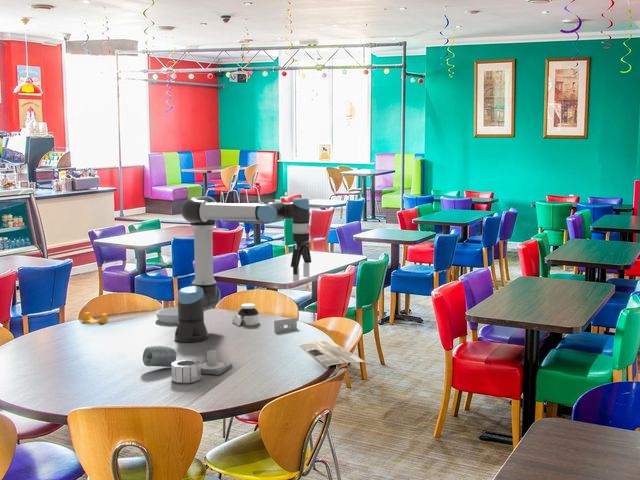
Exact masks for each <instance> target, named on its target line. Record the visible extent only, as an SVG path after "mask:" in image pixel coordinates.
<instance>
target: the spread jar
mask: <svg viewBox="0 0 640 480" xmlns="http://www.w3.org/2000/svg"><path fill="white" fill-rule="evenodd" d="M240 306H241V307H240V309H239V311H238V313H237V315H234V316H233V318H232V320H231V324H235V325H236V326H237V327H240V326H241V325H242V324H243V326H254V325H258V324H259V323H260V314H259V311H258V310H257V308H256V303H255V304H254V303H251V302H250V303H242V304H241V305H240Z"/></svg>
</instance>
